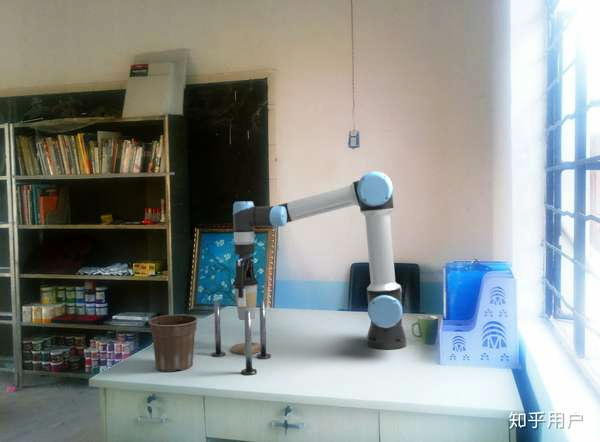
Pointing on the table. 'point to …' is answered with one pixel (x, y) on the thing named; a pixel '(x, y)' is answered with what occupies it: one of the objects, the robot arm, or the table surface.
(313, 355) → the table surface
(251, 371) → the pole outer
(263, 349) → the pole corner
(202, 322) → the table surface
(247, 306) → the coffee cup
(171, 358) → the plant pot
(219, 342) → the pole far
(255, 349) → the coaster
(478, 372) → the table surface
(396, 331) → the robot arm
